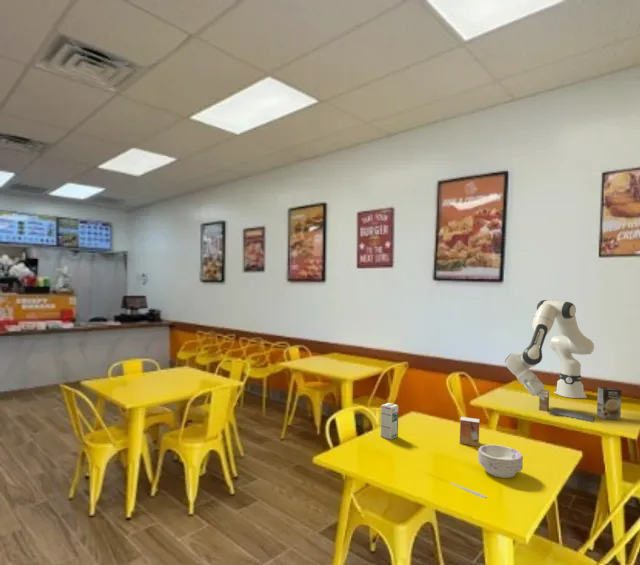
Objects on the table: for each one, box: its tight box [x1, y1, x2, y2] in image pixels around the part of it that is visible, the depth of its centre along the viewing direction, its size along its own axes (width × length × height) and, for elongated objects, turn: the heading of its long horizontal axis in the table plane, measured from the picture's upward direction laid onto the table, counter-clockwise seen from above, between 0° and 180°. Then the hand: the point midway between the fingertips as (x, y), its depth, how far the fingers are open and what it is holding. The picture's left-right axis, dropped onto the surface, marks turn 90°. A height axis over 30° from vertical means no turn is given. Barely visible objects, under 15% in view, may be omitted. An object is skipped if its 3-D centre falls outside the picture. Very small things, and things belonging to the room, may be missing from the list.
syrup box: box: [380, 402, 399, 440], centre depth 190 cm, size 6×6×14 cm
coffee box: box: [596, 386, 622, 421], centre depth 230 cm, size 9×6×16 cm
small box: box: [459, 416, 481, 447], centre depth 185 cm, size 8×6×10 cm
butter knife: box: [449, 481, 487, 499], centre depth 147 cm, size 1×27×3 cm
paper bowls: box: [477, 444, 524, 479], centre depth 156 cm, size 15×15×8 cm
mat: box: [549, 407, 596, 423], centre depth 232 cm, size 12×20×1 cm, turn 51°
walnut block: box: [538, 389, 550, 412], centre depth 241 cm, size 5×4×11 cm
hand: (545, 398), depth 241 cm, fingers closed on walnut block, 5 cm apart
